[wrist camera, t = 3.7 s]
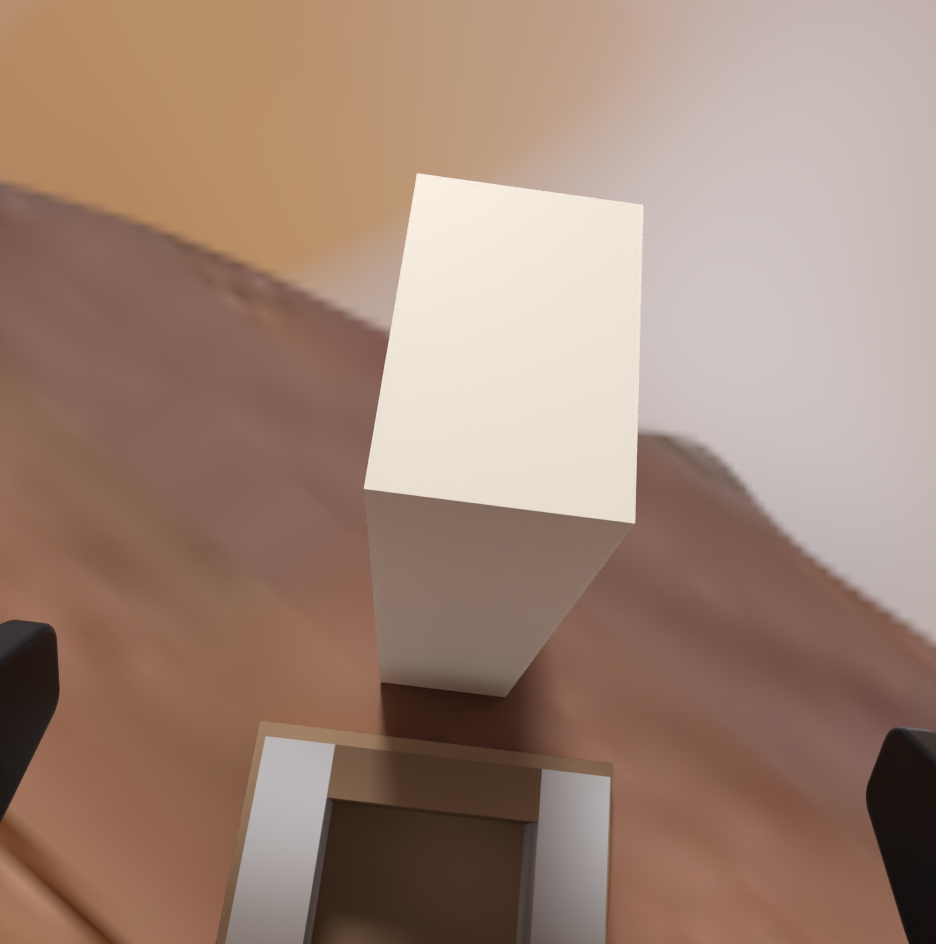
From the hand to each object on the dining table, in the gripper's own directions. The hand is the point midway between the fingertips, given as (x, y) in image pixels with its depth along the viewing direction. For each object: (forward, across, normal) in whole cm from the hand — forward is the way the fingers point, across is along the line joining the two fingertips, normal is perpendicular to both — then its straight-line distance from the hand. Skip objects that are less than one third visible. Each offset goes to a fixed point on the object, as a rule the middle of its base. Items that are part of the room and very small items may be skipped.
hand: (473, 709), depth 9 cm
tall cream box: (+11, 0, +5) cm, 12 cm away
